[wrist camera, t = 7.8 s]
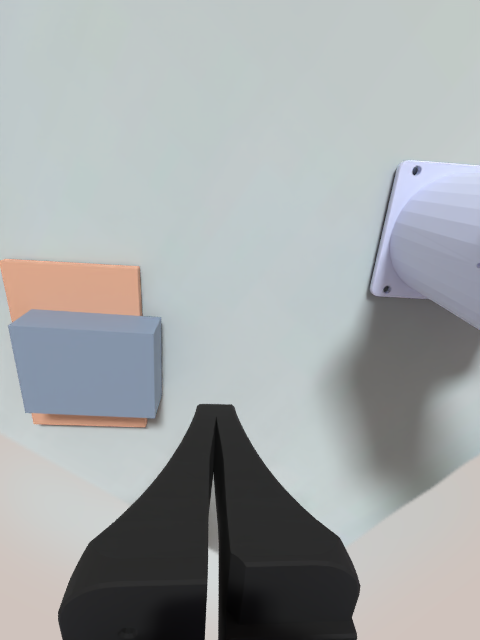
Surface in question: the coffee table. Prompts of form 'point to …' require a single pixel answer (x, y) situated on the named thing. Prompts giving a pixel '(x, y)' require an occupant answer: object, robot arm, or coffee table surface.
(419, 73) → the coffee table surface
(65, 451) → the coffee table surface
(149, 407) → the slab
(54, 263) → the mat
